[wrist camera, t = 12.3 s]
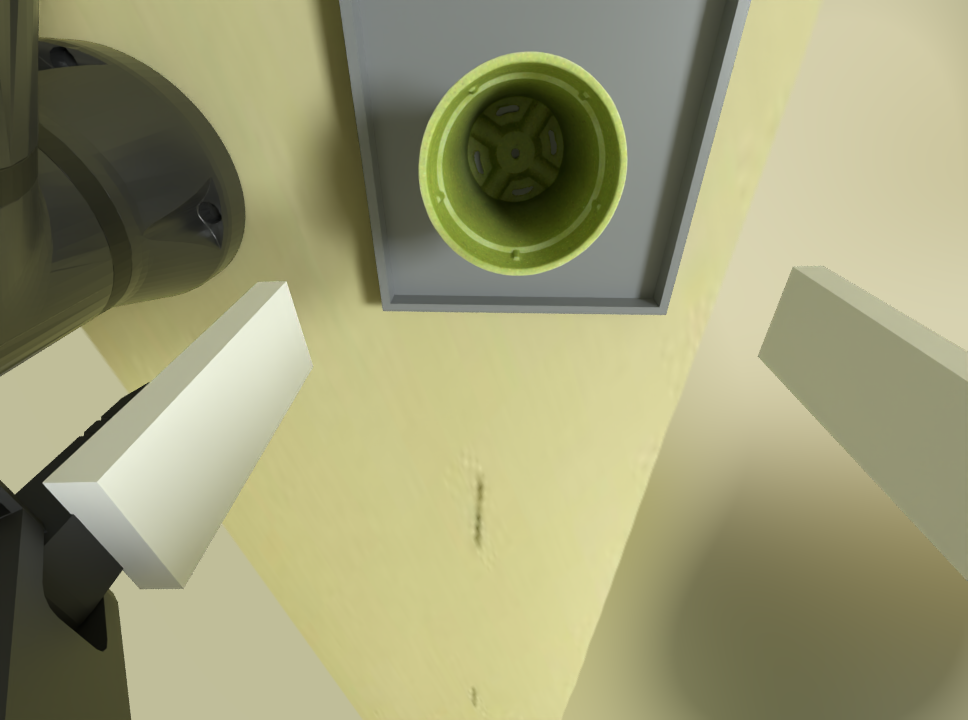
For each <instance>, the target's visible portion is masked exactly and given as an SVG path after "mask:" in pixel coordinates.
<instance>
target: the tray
mask: <svg viewBox="0 0 968 720" xmlns="http://www.w3.org/2000/svg"><path fill="white" fill-rule="evenodd" d="M750 3H751V0H339V4H340V11H341V18H342V25H343V32H344V39H345V46H346V53H347V60H348V67H349V74H350V81H351V89H352V96H353V103H354V110H355V117H356V124H357V131H358V138H359V145H360V152H361V159H362V166H363V173H364V180H365V187H366V195H367V202H368V209H369V216H370V223H371V230H372V237H373V244H374V251H375V258H376V265H377V272H378V279H379V286H380V293H381V300H382V308H383V311H417V312H488V313H559V314H631V315H666V313H667V309H668V306H669V302H670V298H671V295H672V291H673V287H674V284H675V280H676V276H677V272H678V269H679V265H680V261H681V258H682V254H683V250H684V247H685V243H686V239H687V235H688V232H689V228H690V224H691V221H692V217H693V213H694V210H695V206H696V202H697V198H698V195H699V191H700V187H701V184H702V180H703V176H704V173H705V169H706V165H707V162H708V158H709V154H710V150H711V147H712V143H713V139H714V136H715V132H716V128H717V125H718V121H719V117H720V113H721V110H722V106H723V102H724V99H725V95H726V91H727V88H728V84H729V80H730V76H731V73H732V69H733V65H734V62H735V58H736V54H737V51H738V47H739V43H740V40H741V36H742V32H743V28H744V25H745V21H746V17H747V14H748V10H749V6H750ZM516 52H543V53H549V54H553V55H557V56H560V57H563V58H565V59H567V60H570V61H572V62H574V63H576V64H577V65H579V66H581V67H582V68H583V69H585V70H586V71H587V72H588V73H590V74H591V75H592V76H593V77H594V78H595V79H596V80H597V81H598V82H599V83H600V84H601V85H602V87H603V88H604V89H605V90H606V92H607V93H608V94H609V96H610V97H611V99H612V101H613V102H614V104H615V106H616V109H617V111H618V113H619V115H620V118H621V121H622V124H623V128H624V132H625V137H626V145H627V173H626V180H625V185H624V189H623V192H622V195H621V198H620V201H619V203H618V206H617V208H616V210H615V212H614V215H613V216H612V218H611V220H610V222H609V223H608V225H607V226H606V228H605V229H604V231H603V232H602V233H601V235H600V236H599V237H598V238H597V239H596V240H595V241H594V242H593V243H592V244H591V245H590V246H589V247H588V248H587V249H586V250H585V251H584V252H582V253H581V254H579V255H578V256H577V257H575V258H574V259H572V260H571V261H569V262H567V263H566V264H564V265H562V266H560V267H557V268H555V269H552V270H549V271H546V272H542V273H539V274H534V275H524V276H511V275H502V274H497V273H493V272H490V271H487V270H484V269H482V268H479V267H477V266H475V265H473V264H472V263H470V262H468V261H466V260H465V259H464V258H462V257H461V256H459V255H458V254H457V253H456V252H454V251H453V250H452V249H451V248H450V247H449V246H448V245H447V244H446V243H445V241H444V240H443V239H442V238H441V236H440V235H439V234H438V232H437V231H436V229H435V228H434V226H433V224H432V222H431V221H430V219H429V216H428V214H427V211H426V208H425V206H424V203H423V199H422V195H421V191H420V184H419V174H418V164H419V153H420V147H421V142H422V138H423V135H424V132H425V129H426V126H427V124H428V121H429V119H430V117H431V115H432V114H433V112H434V110H435V108H436V106H437V105H438V103H439V102H440V100H441V99H442V98H443V96H444V95H445V94H446V93H447V91H448V90H449V89H450V88H451V87H452V86H453V85H454V84H455V83H456V82H457V81H458V80H459V79H460V78H462V77H463V76H464V75H465V74H467V73H468V72H469V71H471V70H472V69H474V68H476V67H477V66H479V65H481V64H482V63H484V62H486V61H489V60H491V59H494V58H496V57H499V56H502V55H506V54H510V53H516ZM518 110H519V107H518V106H517V105H510V106H507V107H502V108H500V109H499V110H498V111H497V113H496V115H497V116H501V115H503V114H505V113H509V112H517V111H518ZM548 134H549V137H550V143H551V154H553V155H554V154H555V153H556V149H557V144H556V142H555V137H554V132H553V131H551V130H549V132H548ZM512 156H513V157H514V158H517V157H518V156H519V150H518V149H513V150H512ZM474 157H475V163H476V166H477V169H478V172H479V173H481V174H483V173H484V172H483V168H482V165H481V161H480V155H479V151H477V152H475V155H474ZM532 188H533V186H530V187H527V188H523V189H517V190H513V191H512V194H514V195H523V194H526V193H527V192H529V191H531V190H532Z"/></svg>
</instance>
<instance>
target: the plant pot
mask: <svg viewBox="0 0 968 720" xmlns="http://www.w3.org/2000/svg"><path fill="white" fill-rule="evenodd" d="M510 105H517V106H518V107H519V110H518V111H517V112H509V113H505V114H503V115H501V116H497V115H496V113H497V111H498V110H499V109H500V108H502V107H507V106H510ZM549 130H551V131H553V132H554V137H555V142H556V144H557V149H556V153H555V154H554V155H553V154H551V143H550V137H549V134H548V132H549ZM513 149H518V150H519V156H518V157H517V158H514V157H513V156H512V150H513ZM477 151H479V155H480V161H481V165H482V168H483V172H484V173H483V174H481V173H479V172H478V169H477V166H476V163H475V157H474V155H475V152H477ZM626 173H627V145H626V137H625V132H624V128H623V124H622V121H621V118H620V115H619V113H618V111H617V109H616V106H615V104H614V102H613V101H612V99H611V97H610V96H609V94H608V93H607V92H606V90H605V89H604V88H603V87H602V85H601V84H600V83H599V82H598V81H597V80H596V79H595V78H594V77H593V76H592V75H591V74H590V73H588V72H587V71H586V70H585V69H583V68H582V67H581V66H579V65H577V64H576V63H574V62H572V61H570V60H567V59H565V58H563V57H560V56H557V55H553V54H549V53H543V52H516V53H510V54H506V55H502V56H499V57H496V58H494V59H491V60H489V61H486V62H484V63H482V64H481V65H479V66H477V67H476V68H474V69H472V70H471V71H469V72H468V73H467V74H465V75H464V76H463V77H462V78H460V79H459V80H458V81H457V82H456V83H455V84H454V85H453V86H452V87H451V88H450V89H449V90H448V91H447V93H446V94H445V95H444V96H443V98H442V99H441V100H440V102H439V103H438V105H437V106H436V108H435V110H434V112H433V114H432V115H431V117H430V119H429V121H428V124H427V126H426V129H425V132H424V135H423V138H422V142H421V147H420V153H419V164H418V174H419V184H420V191H421V195H422V199H423V203H424V206H425V208H426V211H427V214H428V216H429V219H430V221H431V222H432V224H433V226H434V228H435V229H436V231H437V232H438V234H439V235H440V236H441V238H442V239H443V240H444V241H445V243H446V244H447V245H448V246H449V247H450V248H451V249H452V250H453V251H454V252H456V253H457V254H458V255H459V256H461V257H462V258H464V259H465V260H466V261H468V262H470V263H472V264H473V265H475V266H477V267H479V268H482V269H484V270H487V271H490V272H493V273H497V274H502V275H511V276H524V275H534V274H539V273H542V272H546V271H549V270H552V269H555V268H557V267H560V266H562V265H564V264H566V263H567V262H569V261H571V260H572V259H574V258H575V257H577V256H578V255H579V254H581V253H582V252H584V251H585V250H586V249H587V248H588V247H589V246H590V245H591V244H592V243H593V242H594V241H595V240H596V239H597V238H598V237H599V236H600V235H601V233H602V232H603V231H604V229H605V228H606V226H607V225H608V223H609V222H610V220H611V218H612V216H613V215H614V212H615V210H616V208H617V206H618V203H619V201H620V198H621V195H622V192H623V189H624V185H625V180H626ZM530 186H533V188H532V190H531V191H529V192H527V193H526V194H523V195H514V194H512V191H513V190H517V189H523V188H527V187H530Z"/></svg>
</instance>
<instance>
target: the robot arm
mask: <svg viewBox="0 0 968 720" xmlns="http://www.w3.org/2000/svg"><path fill="white" fill-rule="evenodd" d="M38 28H39V0H0V376H2V375H3V374H5V373H7V372H8V371H10V370H11V369H13V368H15V367H16V366H18V365H20V364H21V363H23V362H24V361H26V360H27V359H29V358H31V357H32V356H34V355H36V354H37V353H39V352H40V351H42V350H44V349H45V348H47V347H49V346H50V345H52V344H53V343H55V342H57V341H58V340H60V339H61V338H63V337H65V336H66V335H68V334H70V333H71V332H73V331H74V330H76V329H77V328H79V327H81V326H82V325H84V324H86V323H87V322H89V321H90V320H92V319H93V318H95V317H96V316H98V315H100V314H101V313H103V312H105V311H106V310H108V309H110V308H112V307H116V306H122V305H127V304H133V303H138V302H143V301H149V300H154V299H160V298H165V297H171V296H175V295H179V294H183V293H186V292H188V291H191V290H193V289H195V288H197V287H199V286H201V285H203V284H204V283H205V282H207V281H208V280H210V279H211V278H212V277H214V276H215V275H217V274H218V273H219V272H221V271H222V270H223V269H224V268H225V267H226V266H227V265H228V264H229V263H230V262H231V261H232V259H233V258H234V256H235V255H236V253H237V251H238V249H239V247H240V244H241V241H242V237H243V233H244V227H245V204H244V197H243V192H242V188H241V184H240V180H239V177H238V174H237V172H236V169H235V166H234V164H233V162H232V160H231V157H230V155H229V153H228V151H227V150H226V148H225V146H224V144H223V142H222V141H221V139H220V137H219V136H218V134H217V133H216V131H215V130H214V128H213V127H212V126H211V124H210V123H209V122H208V120H207V119H206V118H205V117H204V115H203V114H202V113H201V112H200V110H199V109H198V108H197V107H196V106H195V105H194V104H193V103H192V102H191V101H190V100H189V99H188V98H187V97H186V96H185V95H184V94H183V93H182V92H181V91H180V90H179V89H178V88H177V87H175V86H174V85H173V84H172V83H171V82H169V81H168V80H167V79H166V78H164V77H163V76H162V75H160V74H159V73H158V72H156V71H155V70H153V69H152V68H150V67H149V66H147V65H145V64H144V63H142V62H140V61H138V60H137V59H135V58H133V57H131V56H129V55H127V54H125V53H123V52H120V51H118V50H115V49H113V48H110V47H107V46H104V45H101V44H97V43H93V42H88V41H82V40H71V39H57V38H43V37H38ZM758 357H759V358H760V359H761V360H762V361H763V362H764V363H765V364H766V366H767V367H768V368H769V369H770V370H771V371H772V372H773V373H774V374H775V375H776V376H777V377H778V378H779V380H780V381H781V382H782V383H783V384H784V385H785V386H786V387H787V388H788V389H789V390H790V391H791V392H792V393H793V395H794V396H795V397H796V398H797V399H798V400H799V401H800V402H801V403H802V404H803V405H804V406H805V407H806V409H808V411H809V412H810V413H811V414H812V415H813V416H814V417H815V418H816V419H817V420H818V421H819V422H820V424H821V425H822V426H823V427H824V428H825V429H826V430H827V431H828V432H829V433H830V434H831V435H832V436H833V437H834V438H835V439H836V441H837V442H838V443H839V444H840V445H841V446H842V447H843V448H844V449H845V450H846V451H847V453H848V454H850V456H851V457H852V458H853V459H854V460H855V461H856V462H857V463H858V464H859V465H860V466H861V467H862V468H863V470H864V471H865V472H866V473H867V474H868V475H869V476H870V477H871V478H872V479H873V480H874V481H875V482H876V483H877V485H878V486H879V487H880V488H881V489H882V490H883V491H884V492H885V493H886V494H887V495H888V496H889V497H890V499H891V500H892V501H893V502H894V503H895V504H896V505H897V506H898V507H899V508H900V509H901V510H902V512H904V514H905V515H906V516H907V517H908V518H909V519H910V520H911V521H912V522H913V523H914V524H915V525H916V527H917V528H918V529H919V530H920V531H921V532H922V533H923V534H924V535H925V536H926V537H927V538H928V539H929V540H930V541H931V543H932V544H933V545H934V546H935V547H936V548H937V549H938V550H939V551H940V552H941V553H942V554H943V556H944V557H946V559H947V560H948V561H949V562H950V563H951V564H952V565H953V566H954V567H955V568H956V569H957V571H959V572H960V574H962V576H963V577H964V578H965V579H966V580H967V581H968V351H966V350H964V349H963V348H961V347H959V346H957V345H956V344H954V343H952V342H951V341H949V340H947V339H946V338H944V337H942V336H941V335H939V334H937V333H936V332H934V331H932V330H930V329H929V328H927V327H925V326H924V325H922V324H920V323H919V322H917V321H915V320H914V319H912V318H910V317H909V316H907V315H905V314H903V313H902V312H900V311H898V310H897V309H895V308H893V307H892V306H890V305H888V304H887V303H885V302H883V301H882V300H880V299H878V298H877V297H875V296H873V295H871V294H870V293H868V292H866V291H864V290H863V289H861V288H860V287H858V286H856V285H855V284H853V283H851V282H849V281H848V280H846V279H845V278H843V277H841V276H839V275H838V274H836V273H834V272H833V271H831V270H829V269H828V268H826V267H824V266H804V267H793V268H792V270H791V273H790V276H789V278H788V281H787V283H786V286H785V288H784V291H783V293H782V296H781V298H780V301H779V304H778V306H777V309H776V311H775V314H774V317H773V319H772V321H771V324H770V327H769V329H768V332H767V334H766V337H765V339H764V342H763V345H762V347H761V350H760V352H759V355H758ZM312 368H313V364H312V361H311V358H310V355H309V351H308V348H307V345H306V342H305V339H304V335H303V332H302V329H301V326H300V323H299V320H298V316H297V313H296V310H295V307H294V304H293V301H292V297H291V294H290V291H289V288H288V285H287V282H286V281H271V282H257V283H256V284H255V285H254V286H253V287H252V288H251V289H250V290H248V291H247V292H246V293H245V294H244V295H243V296H242V297H241V298H240V299H239V300H238V301H237V302H236V303H235V304H233V305H232V306H231V307H230V308H229V309H228V310H227V311H226V312H225V313H224V314H223V315H222V316H221V317H220V318H218V319H217V320H216V321H215V322H214V323H213V324H212V325H211V326H210V327H209V328H208V329H207V330H206V331H204V332H203V333H202V334H201V335H200V336H199V337H198V338H197V339H196V340H195V341H194V342H193V343H192V344H191V345H189V346H188V347H187V348H186V349H185V350H184V351H183V352H182V353H181V354H180V355H179V356H178V357H177V358H176V359H174V360H173V361H172V362H171V363H170V364H169V365H168V366H167V367H166V368H165V369H164V370H163V371H162V372H161V373H159V374H158V375H157V376H156V377H155V378H154V379H153V380H152V381H151V382H148V383H147V384H145V385H143V386H142V387H140V388H138V389H137V390H135V391H133V392H131V393H130V394H128V395H126V396H125V397H123V398H121V399H120V400H119V401H118V402H117V403H116V404H115V405H114V406H113V407H111V408H110V409H109V410H108V411H107V412H106V413H105V414H104V415H103V416H102V417H101V421H100V420H99V421H96V422H95V423H94V424H93V425H91V426H90V427H89V428H88V429H87V430H86V431H85V432H84V436H81V437H80V436H79V437H78V438H77V439H76V440H75V441H74V442H73V443H72V444H71V445H69V446H68V447H67V448H66V449H65V450H64V451H63V452H62V453H61V454H60V455H58V456H57V457H56V458H55V459H54V460H53V461H52V462H51V463H50V464H49V465H47V466H46V467H45V468H44V469H43V470H42V471H41V472H40V473H38V474H37V475H36V476H35V477H34V478H33V479H32V480H31V481H30V482H28V483H27V484H26V485H25V486H24V487H23V488H22V489H21V490H20V491H18V492H17V493H16V494H13V492H12V491H11V490H10V489H9V488H7V486H6V485H5V484H4V483H3V482H1V480H0V720H131V714H130V706H129V697H128V688H127V679H126V670H125V661H124V653H123V644H122V635H121V626H120V617H119V609H118V602H117V600H116V598H115V596H114V594H113V593H112V592H111V591H110V590H109V588H110V586H111V585H112V584H113V582H114V581H115V580H116V578H117V577H118V575H119V574H120V573H121V571H122V570H123V571H124V572H125V573H126V574H127V575H128V577H129V578H130V579H131V580H132V581H133V582H134V583H135V584H136V585H137V586H138V587H139V588H140V589H183V588H184V587H185V585H186V583H187V582H188V580H189V578H190V577H191V575H192V573H193V571H194V570H195V568H196V566H197V565H198V563H199V561H200V559H201V558H202V556H203V554H204V553H205V551H206V549H207V548H208V546H209V544H210V542H211V541H212V539H213V537H214V536H215V534H216V532H217V530H218V529H219V527H220V525H221V524H222V522H223V520H224V519H225V517H226V515H227V513H228V512H229V510H230V508H231V507H232V505H233V503H234V501H235V500H236V498H237V496H238V495H239V493H240V491H241V489H242V488H243V486H244V484H245V483H246V481H247V479H248V477H249V476H250V474H251V472H252V471H253V469H254V467H255V465H256V464H257V462H258V460H259V459H260V457H261V455H262V453H263V452H264V450H265V448H266V447H267V445H268V443H269V441H270V440H271V438H272V436H273V435H274V433H275V431H276V429H277V428H278V426H279V424H280V423H281V421H282V419H283V417H284V416H285V414H286V412H287V411H288V409H289V407H290V405H291V404H292V402H293V400H294V399H295V397H296V395H297V394H298V392H299V390H300V388H301V387H302V385H303V383H304V382H305V380H306V378H307V376H308V375H309V373H310V371H311V370H312Z"/></svg>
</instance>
